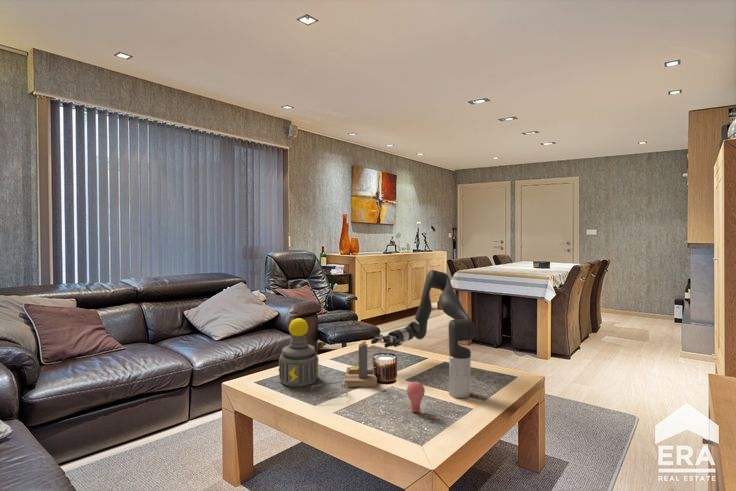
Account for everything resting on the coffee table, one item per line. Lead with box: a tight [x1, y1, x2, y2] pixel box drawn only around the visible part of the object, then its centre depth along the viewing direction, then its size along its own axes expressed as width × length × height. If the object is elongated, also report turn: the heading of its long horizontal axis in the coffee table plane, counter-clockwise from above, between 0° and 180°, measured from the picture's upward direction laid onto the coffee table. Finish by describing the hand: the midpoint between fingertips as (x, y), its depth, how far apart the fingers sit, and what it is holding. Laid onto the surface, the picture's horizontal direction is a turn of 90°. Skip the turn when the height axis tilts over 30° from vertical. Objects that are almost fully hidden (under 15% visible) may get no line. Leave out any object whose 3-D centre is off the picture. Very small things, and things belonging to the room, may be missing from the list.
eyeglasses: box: [311, 379, 349, 405], centre depth 188 cm, size 16×15×5 cm
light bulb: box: [406, 381, 426, 413], centre depth 172 cm, size 7×7×12 cm
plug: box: [358, 340, 369, 378], centre depth 202 cm, size 4×4×17 cm
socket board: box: [343, 366, 378, 388], centre depth 207 cm, size 18×15×3 cm
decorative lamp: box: [278, 317, 320, 388], centre depth 205 cm, size 19×19×30 cm
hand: (378, 343), depth 210 cm, fingers open, 8 cm apart
